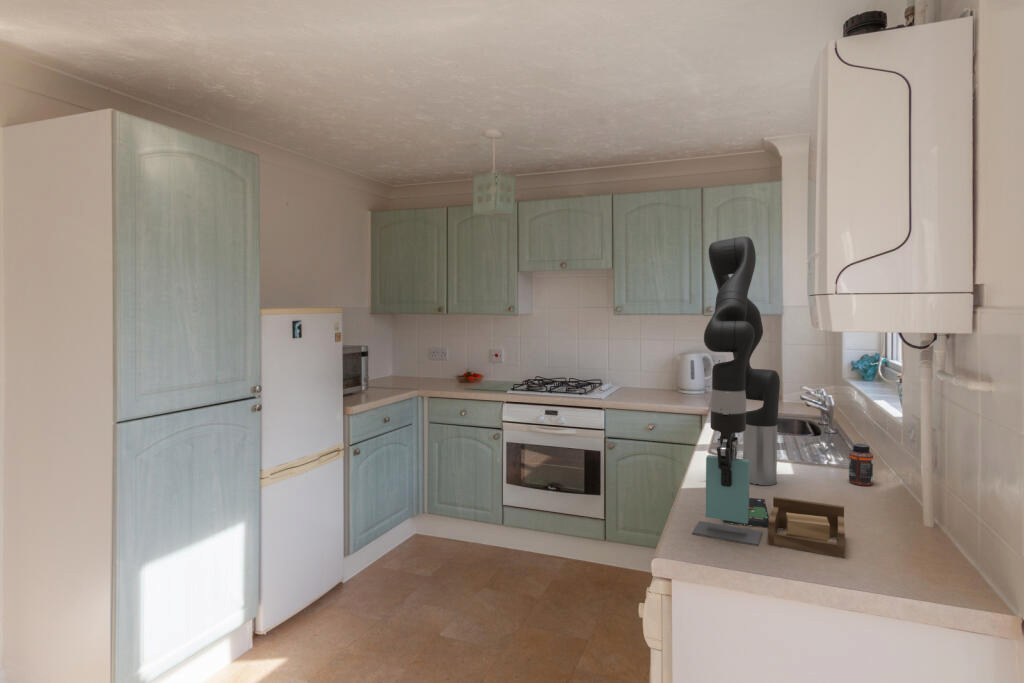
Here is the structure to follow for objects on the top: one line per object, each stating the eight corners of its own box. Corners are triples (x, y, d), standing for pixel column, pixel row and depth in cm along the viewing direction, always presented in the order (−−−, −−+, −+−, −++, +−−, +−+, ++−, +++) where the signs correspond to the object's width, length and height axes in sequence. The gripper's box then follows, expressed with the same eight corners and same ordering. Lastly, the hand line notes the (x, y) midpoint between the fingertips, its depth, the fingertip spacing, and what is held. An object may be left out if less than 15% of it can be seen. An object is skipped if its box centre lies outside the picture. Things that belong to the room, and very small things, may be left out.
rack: (773, 525, 136) (773, 496, 135) (843, 536, 128) (844, 506, 128) (768, 544, 125) (768, 512, 125) (844, 557, 118) (844, 524, 118)
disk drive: (722, 505, 152) (723, 524, 138) (722, 494, 151) (723, 513, 137) (764, 509, 148) (770, 529, 134) (764, 498, 148) (770, 518, 134)
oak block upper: (786, 525, 129) (786, 512, 128) (826, 530, 126) (826, 517, 125) (787, 533, 124) (787, 520, 124) (829, 539, 121) (829, 525, 121)
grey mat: (699, 522, 138) (699, 520, 138) (762, 533, 131) (762, 531, 131) (692, 534, 131) (692, 532, 131) (758, 546, 124) (758, 544, 124)
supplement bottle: (877, 485, 164) (878, 446, 163) (861, 487, 162) (862, 448, 162) (859, 479, 170) (860, 441, 169) (843, 481, 168) (844, 443, 167)
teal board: (707, 513, 134) (708, 455, 133) (748, 520, 130) (749, 459, 129) (705, 517, 132) (706, 457, 131) (747, 524, 128) (748, 462, 127)
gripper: (716, 403, 137) (715, 474, 138) (704, 413, 125) (704, 490, 126) (750, 405, 134) (749, 478, 135) (741, 415, 122) (740, 495, 123)
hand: (727, 483), depth 131 cm, fingers closed on teal board, 2 cm apart
